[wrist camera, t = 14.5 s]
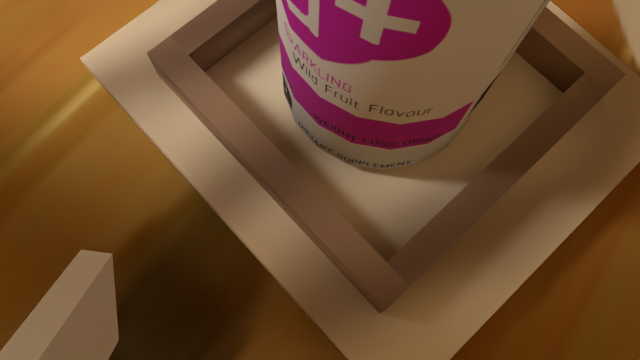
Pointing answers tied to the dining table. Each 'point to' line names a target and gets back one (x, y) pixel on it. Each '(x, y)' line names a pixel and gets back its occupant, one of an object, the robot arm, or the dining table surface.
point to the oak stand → (380, 171)
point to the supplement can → (393, 70)
